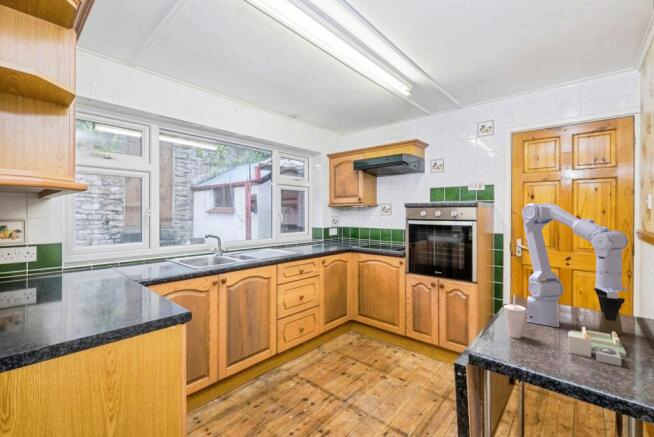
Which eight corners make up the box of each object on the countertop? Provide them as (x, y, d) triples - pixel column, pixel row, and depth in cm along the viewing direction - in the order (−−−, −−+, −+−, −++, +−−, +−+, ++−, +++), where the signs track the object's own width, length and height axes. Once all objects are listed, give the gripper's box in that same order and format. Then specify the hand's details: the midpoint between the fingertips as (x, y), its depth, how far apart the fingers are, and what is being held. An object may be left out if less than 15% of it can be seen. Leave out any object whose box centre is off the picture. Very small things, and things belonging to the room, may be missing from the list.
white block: (568, 352, 90) (568, 335, 90) (568, 347, 93) (568, 330, 93) (591, 357, 87) (591, 339, 87) (589, 351, 90) (589, 334, 90)
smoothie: (501, 336, 102) (501, 294, 101) (506, 330, 107) (506, 290, 106) (523, 341, 98) (524, 298, 97) (527, 335, 102) (528, 293, 102)
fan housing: (596, 361, 85) (596, 351, 85) (594, 352, 90) (594, 343, 90) (621, 366, 82) (621, 356, 82) (617, 357, 87) (617, 347, 87)
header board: (572, 346, 94) (572, 335, 94) (570, 332, 104) (570, 323, 103) (626, 357, 87) (626, 345, 87) (619, 341, 96) (619, 331, 96)
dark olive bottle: (616, 329, 106) (617, 297, 106) (627, 336, 100) (627, 302, 100) (595, 327, 108) (595, 296, 108) (604, 333, 102) (604, 301, 102)
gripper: (632, 277, 83) (632, 326, 84) (622, 268, 95) (621, 311, 96) (598, 274, 88) (597, 321, 88) (592, 266, 99) (591, 307, 100)
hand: (608, 316), depth 92 cm, fingers open, 7 cm apart
